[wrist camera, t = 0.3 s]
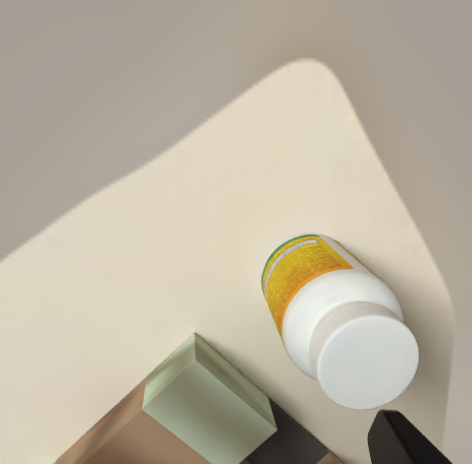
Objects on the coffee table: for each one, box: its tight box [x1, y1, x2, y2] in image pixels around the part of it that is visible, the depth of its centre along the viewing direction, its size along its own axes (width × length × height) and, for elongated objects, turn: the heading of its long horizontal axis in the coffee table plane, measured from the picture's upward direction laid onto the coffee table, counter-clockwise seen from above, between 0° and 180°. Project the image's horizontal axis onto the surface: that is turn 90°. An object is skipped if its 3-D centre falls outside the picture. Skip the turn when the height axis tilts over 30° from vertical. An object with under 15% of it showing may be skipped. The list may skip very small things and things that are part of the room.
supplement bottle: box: [261, 233, 419, 410], centre depth 21 cm, size 5×5×10 cm
